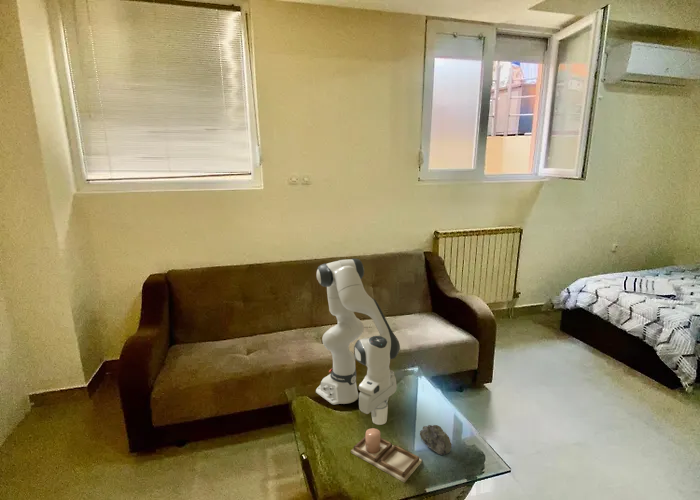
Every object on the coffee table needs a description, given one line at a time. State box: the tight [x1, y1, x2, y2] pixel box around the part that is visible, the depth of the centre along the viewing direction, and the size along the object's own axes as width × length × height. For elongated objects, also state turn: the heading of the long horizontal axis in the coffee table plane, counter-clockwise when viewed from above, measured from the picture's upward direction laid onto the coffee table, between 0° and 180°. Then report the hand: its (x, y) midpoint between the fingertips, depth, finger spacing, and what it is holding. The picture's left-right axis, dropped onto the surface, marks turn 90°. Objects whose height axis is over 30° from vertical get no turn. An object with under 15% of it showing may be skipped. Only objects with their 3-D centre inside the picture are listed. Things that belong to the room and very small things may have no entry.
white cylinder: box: [371, 401, 389, 426], centre depth 151 cm, size 7×7×7 cm
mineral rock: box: [419, 424, 453, 456], centre depth 161 cm, size 13×11×10 cm
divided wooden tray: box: [350, 435, 423, 483], centre depth 155 cm, size 25×13×2 cm, turn 52°
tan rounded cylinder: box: [365, 427, 381, 454], centre depth 158 cm, size 6×6×7 cm
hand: (379, 412), depth 152 cm, fingers closed on white cylinder, 5 cm apart
